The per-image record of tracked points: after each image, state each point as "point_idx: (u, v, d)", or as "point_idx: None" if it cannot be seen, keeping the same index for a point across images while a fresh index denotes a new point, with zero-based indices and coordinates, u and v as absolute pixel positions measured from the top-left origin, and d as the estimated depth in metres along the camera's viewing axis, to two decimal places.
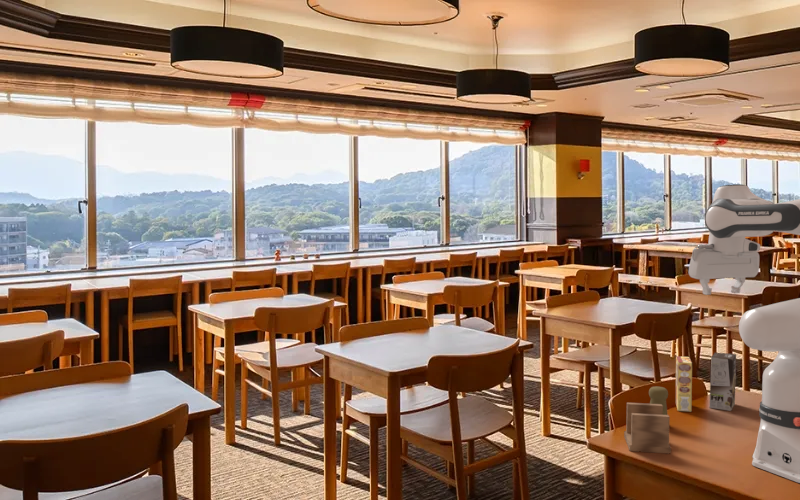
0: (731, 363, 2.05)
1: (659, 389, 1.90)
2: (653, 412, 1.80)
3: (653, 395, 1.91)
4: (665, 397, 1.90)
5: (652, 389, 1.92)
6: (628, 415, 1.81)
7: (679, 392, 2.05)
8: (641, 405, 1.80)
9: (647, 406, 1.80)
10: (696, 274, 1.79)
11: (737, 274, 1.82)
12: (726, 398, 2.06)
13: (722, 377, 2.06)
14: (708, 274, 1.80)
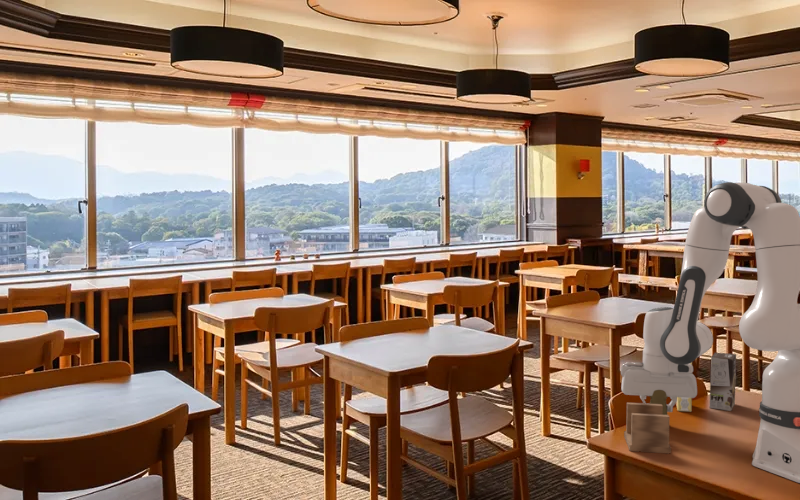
0: (731, 363, 2.05)
1: None
2: (653, 412, 1.80)
3: (653, 395, 1.91)
4: (665, 397, 1.90)
5: None
6: (628, 415, 1.81)
7: None
8: (641, 405, 1.80)
9: (647, 406, 1.80)
10: (623, 390, 1.93)
11: (671, 393, 1.90)
12: (726, 399, 2.06)
13: (722, 377, 2.06)
14: (635, 391, 1.92)
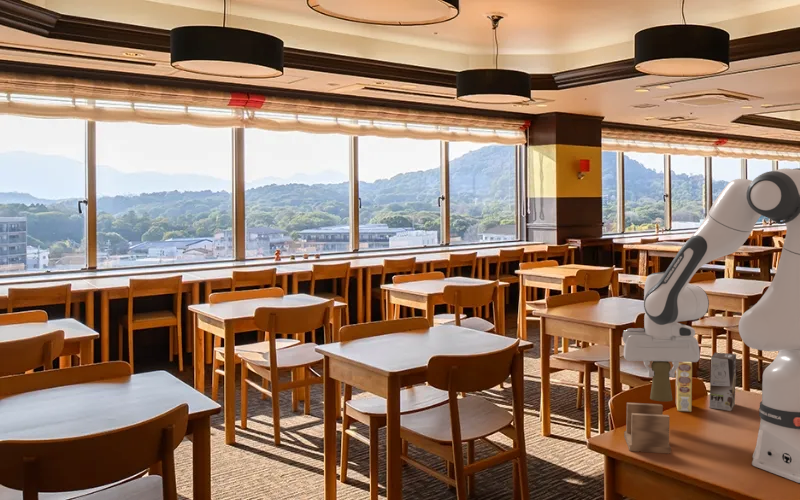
0: (731, 363, 2.05)
1: (661, 362, 1.90)
2: (653, 412, 1.80)
3: (655, 368, 1.90)
4: (668, 370, 1.89)
5: (654, 362, 1.91)
6: (628, 415, 1.81)
7: (679, 392, 2.05)
8: (641, 405, 1.80)
9: (647, 406, 1.80)
10: (625, 356, 1.92)
11: (673, 358, 1.89)
12: (726, 399, 2.06)
13: (722, 377, 2.06)
14: (638, 356, 1.91)
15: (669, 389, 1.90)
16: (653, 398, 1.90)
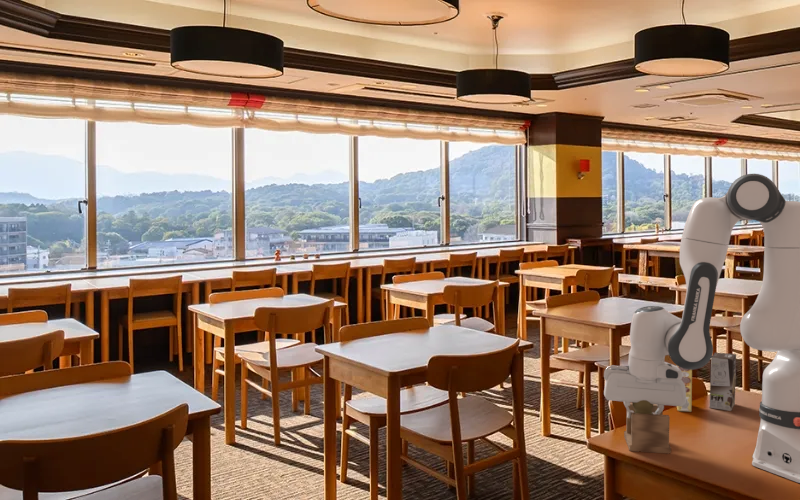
0: (731, 363, 2.05)
1: None
2: None
3: (637, 405, 1.75)
4: (650, 407, 1.75)
5: None
6: None
7: None
8: None
9: None
10: (605, 395, 1.77)
11: (657, 401, 1.74)
12: (726, 399, 2.06)
13: (722, 377, 2.06)
14: (619, 396, 1.76)
15: None
16: None
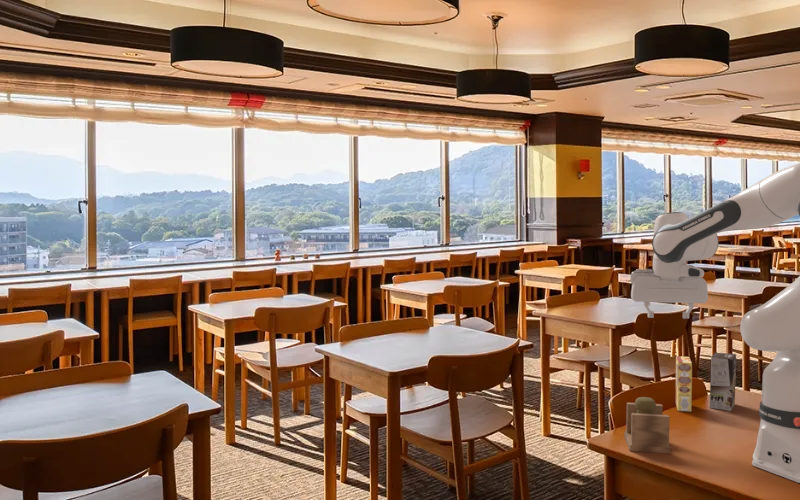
0: (731, 363, 2.05)
1: (645, 400, 1.75)
2: None
3: (639, 406, 1.75)
4: (652, 409, 1.74)
5: (638, 400, 1.76)
6: (628, 415, 1.81)
7: (679, 392, 2.05)
8: None
9: None
10: (632, 296, 1.90)
11: (681, 299, 1.88)
12: (726, 399, 2.06)
13: (722, 377, 2.06)
14: (645, 297, 1.90)
15: None
16: None
